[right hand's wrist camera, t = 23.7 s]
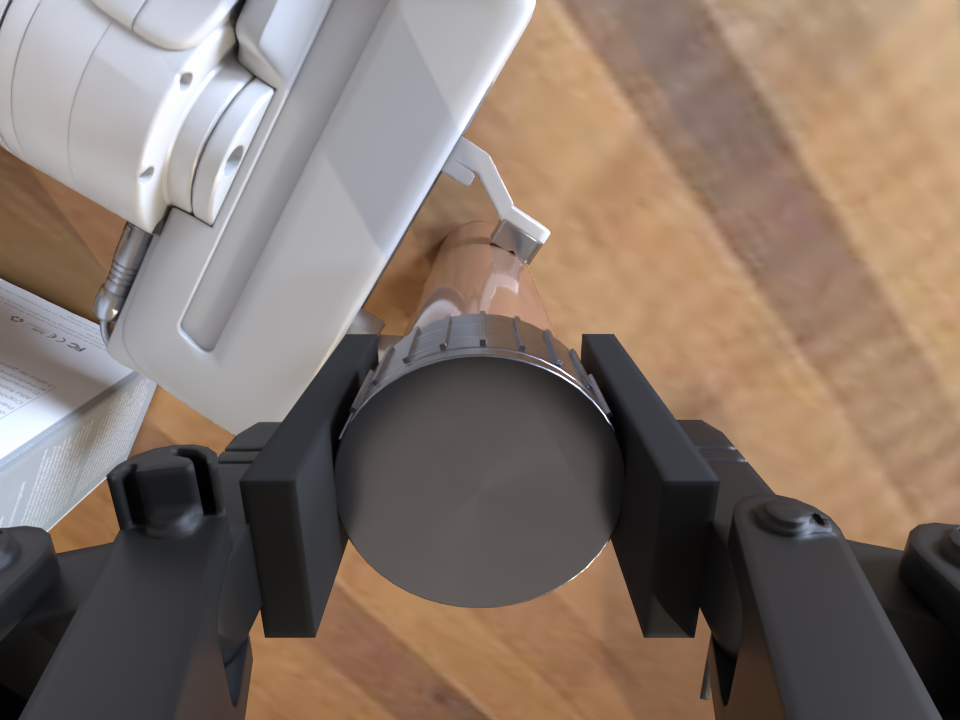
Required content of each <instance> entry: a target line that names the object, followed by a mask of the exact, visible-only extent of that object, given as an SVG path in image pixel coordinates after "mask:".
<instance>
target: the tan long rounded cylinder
mask: <svg viewBox="0 0 960 720" xmlns="http://www.w3.org/2000/svg"><path fill="white" fill-rule="evenodd" d="M495 227H496V225H495V224H492V223H488V222H472V223H468V224H465V225H462V226H460V227H458V228H456V229H455V230H454V231H452V232H451V233H450V234H449V235H448V236H447V237H446V238H445V240H444V241H443V243H442V244H441V246H440V248H439V251H438V253H437V256H436V258H435V261H434V263H433V265H432V268H431V270H430V273H429V275H428V278H427V280H426V282H425V285H424V287H423V290H422V292H421V294H420V297H419V299H418V302H417V304H416V307H415V309H414V311H413V314H412V316H411V319H410V321H409V324H408V326H407V328H406V331H405V333H404V336H403V338H404V337H406V336H407V335H409V334H411V333H412V331H413V328H415V327H416V326H419V328H421V327H423V326H425V325H428V324H430V323H432V322H435V321H438V320H441V319H445V315H449V314H451V317H453V316H458V315H464V314H480V311H485V313H486V314H494V315H502V316H506V317H511V318H514V316H518V317H520V320H521V321H524V322H527V323H530V324H532V325H534V326H536V327H538V328H540V329H542V330H544V331H545V330H546V329H548V330H550V331H551V333H552V335H553V337H555V338H556V339H557V336H556V334H555V332H554V329H553V327H552V324H551V322H550V319H549V317H548V315H547V312H546V310H545V307H544V305H543V302H542V300H541V298H540V295H539V293H538V290H537V288H536V285H535V283H534V281H533V278H532V276H531V273H530V271H529V268H528V266H527V264H526V263H524V262H522V261H521V260H519V259H518V258H517V257H516V256H515V254H514V252H513V251H506V250H504V249H502V248H501V247H499V246H497V245H496V244H494V243H493V242H491V236H490V235H491V233H492V232H493V230H494V228H495ZM403 338H402V339H403Z"/></svg>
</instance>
